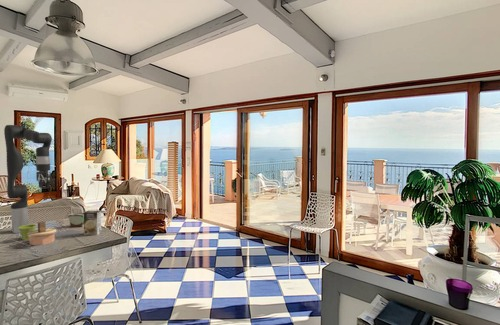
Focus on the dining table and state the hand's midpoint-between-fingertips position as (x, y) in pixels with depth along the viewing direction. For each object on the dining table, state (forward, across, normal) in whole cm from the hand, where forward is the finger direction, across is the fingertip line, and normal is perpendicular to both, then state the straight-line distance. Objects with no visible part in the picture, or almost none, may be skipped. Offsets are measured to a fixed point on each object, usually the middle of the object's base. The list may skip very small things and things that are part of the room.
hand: (44, 187), depth 194 cm
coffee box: (+33, +21, +19) cm, 44 cm away
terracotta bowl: (+33, +10, -7) cm, 35 cm away
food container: (+33, -8, +26) cm, 43 cm away
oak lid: (+27, +10, -7) cm, 30 cm away
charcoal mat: (+33, +6, +9) cm, 35 cm away
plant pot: (+33, -6, -8) cm, 35 cm away
